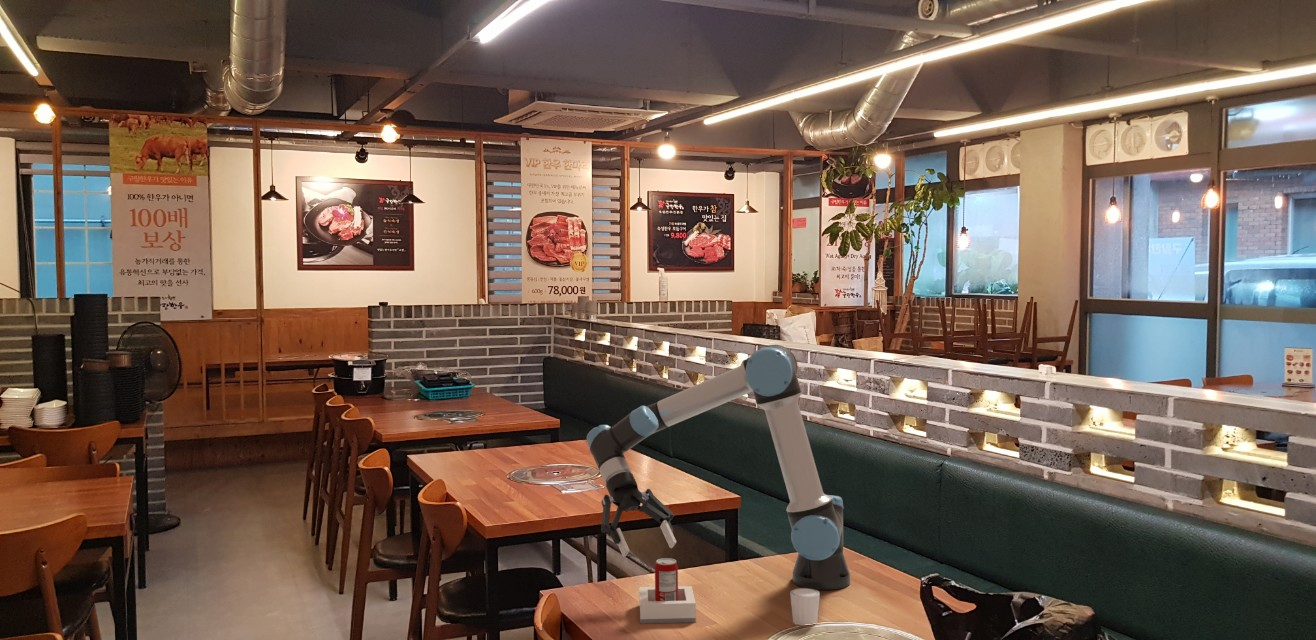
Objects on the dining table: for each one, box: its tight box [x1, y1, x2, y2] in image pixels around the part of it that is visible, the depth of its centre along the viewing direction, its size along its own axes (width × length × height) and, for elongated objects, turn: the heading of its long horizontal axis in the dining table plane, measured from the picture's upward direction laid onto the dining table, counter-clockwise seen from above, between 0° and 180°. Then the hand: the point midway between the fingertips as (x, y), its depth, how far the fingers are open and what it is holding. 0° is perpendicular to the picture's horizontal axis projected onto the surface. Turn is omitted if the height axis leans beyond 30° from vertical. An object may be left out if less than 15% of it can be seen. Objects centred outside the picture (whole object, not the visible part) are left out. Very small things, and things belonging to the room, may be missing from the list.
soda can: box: [654, 557, 679, 601], centre depth 230 cm, size 6×6×12 cm
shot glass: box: [789, 587, 821, 626], centre depth 224 cm, size 7×7×7 cm
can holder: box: [638, 585, 697, 624], centre depth 230 cm, size 13×13×4 cm
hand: (650, 549), depth 235 cm, fingers open, 13 cm apart
